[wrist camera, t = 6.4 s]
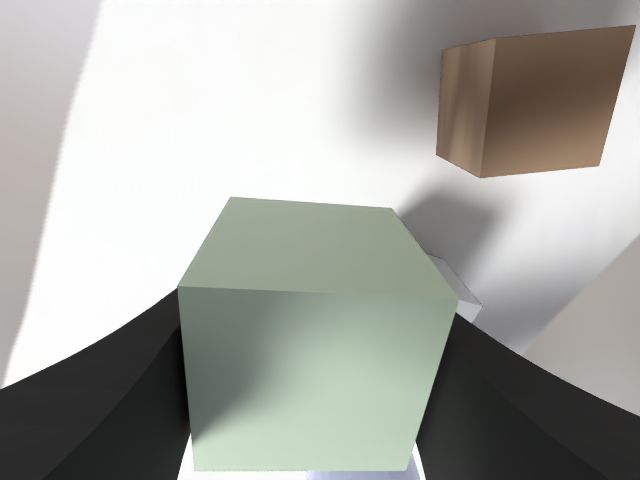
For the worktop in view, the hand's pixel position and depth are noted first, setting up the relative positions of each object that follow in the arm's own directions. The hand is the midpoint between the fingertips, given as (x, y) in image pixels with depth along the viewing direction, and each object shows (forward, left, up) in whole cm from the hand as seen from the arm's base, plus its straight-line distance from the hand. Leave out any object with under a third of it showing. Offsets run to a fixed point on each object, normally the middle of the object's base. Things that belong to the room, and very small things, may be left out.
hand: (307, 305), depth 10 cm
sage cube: (0, 0, -2) cm, 2 cm away
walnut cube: (+6, -9, -10) cm, 15 cm away
